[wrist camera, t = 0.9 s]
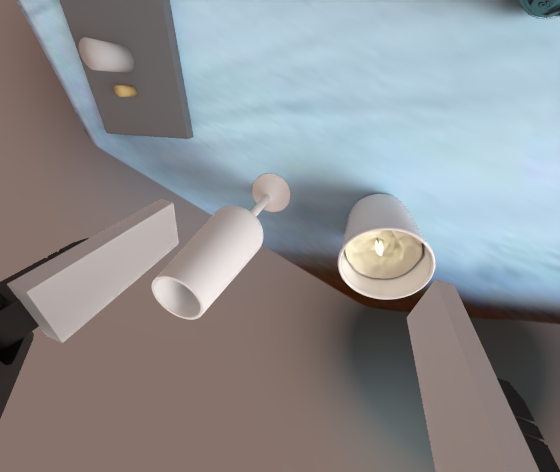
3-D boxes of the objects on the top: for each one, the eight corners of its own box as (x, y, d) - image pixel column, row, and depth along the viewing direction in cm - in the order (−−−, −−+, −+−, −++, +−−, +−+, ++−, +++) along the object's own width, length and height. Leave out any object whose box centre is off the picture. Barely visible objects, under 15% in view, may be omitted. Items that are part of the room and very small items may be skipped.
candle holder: (338, 239, 39) (331, 288, 29) (351, 182, 34) (347, 219, 24) (400, 251, 37) (415, 308, 27) (424, 193, 32) (453, 238, 22)
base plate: (58, -34, 30) (-6, -61, 25) (160, -50, 27) (110, -86, 21) (114, 132, 41) (77, 137, 36) (193, 137, 37) (165, 144, 32)
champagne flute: (244, 184, 39) (126, 277, 19) (277, 165, 36) (174, 255, 16) (265, 217, 41) (178, 332, 21) (298, 202, 38) (230, 321, 18)
